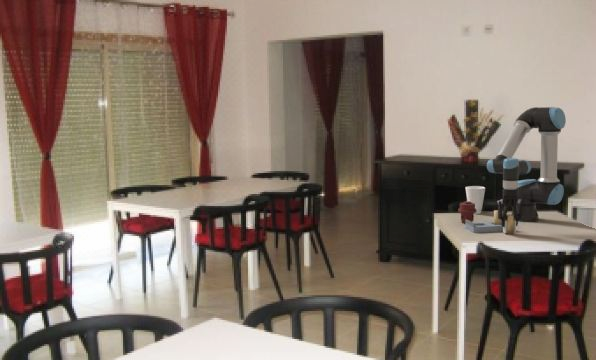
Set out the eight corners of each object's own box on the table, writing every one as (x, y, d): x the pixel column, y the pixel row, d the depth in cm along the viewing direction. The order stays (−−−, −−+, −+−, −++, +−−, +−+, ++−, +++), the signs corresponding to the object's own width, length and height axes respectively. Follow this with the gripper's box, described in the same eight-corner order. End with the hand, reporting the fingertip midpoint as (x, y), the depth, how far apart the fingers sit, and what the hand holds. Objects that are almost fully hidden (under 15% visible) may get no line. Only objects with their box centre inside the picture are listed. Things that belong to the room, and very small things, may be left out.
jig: (503, 226, 346) (504, 208, 344) (513, 230, 334) (513, 212, 332) (465, 228, 343) (465, 210, 342) (473, 232, 332) (473, 214, 330)
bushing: (511, 232, 330) (512, 213, 328) (515, 234, 325) (515, 215, 324) (503, 232, 329) (503, 214, 328) (507, 234, 325) (507, 215, 324)
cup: (487, 214, 381) (487, 188, 379) (467, 214, 381) (468, 188, 379) (481, 211, 393) (482, 185, 391) (462, 211, 393) (463, 186, 391)
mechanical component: (475, 221, 361) (476, 225, 351) (457, 221, 363) (458, 224, 353) (475, 200, 359) (477, 203, 349) (457, 200, 361) (458, 203, 351)
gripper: (523, 186, 329) (522, 230, 332) (491, 187, 327) (490, 231, 330) (529, 188, 321) (528, 233, 324) (497, 189, 320) (496, 234, 323)
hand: (509, 232), depth 327 cm, fingers closed on bushing, 4 cm apart
